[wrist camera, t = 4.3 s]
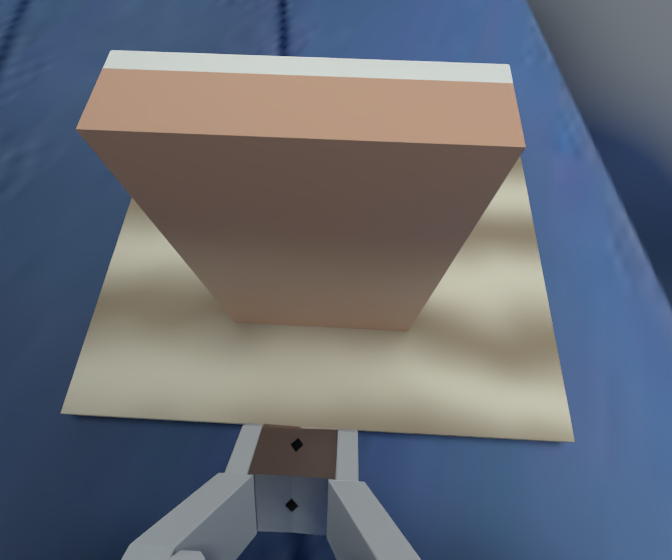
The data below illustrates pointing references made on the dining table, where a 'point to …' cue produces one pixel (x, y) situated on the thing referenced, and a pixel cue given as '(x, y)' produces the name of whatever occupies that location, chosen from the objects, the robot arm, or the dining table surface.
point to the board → (334, 347)
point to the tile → (308, 174)
